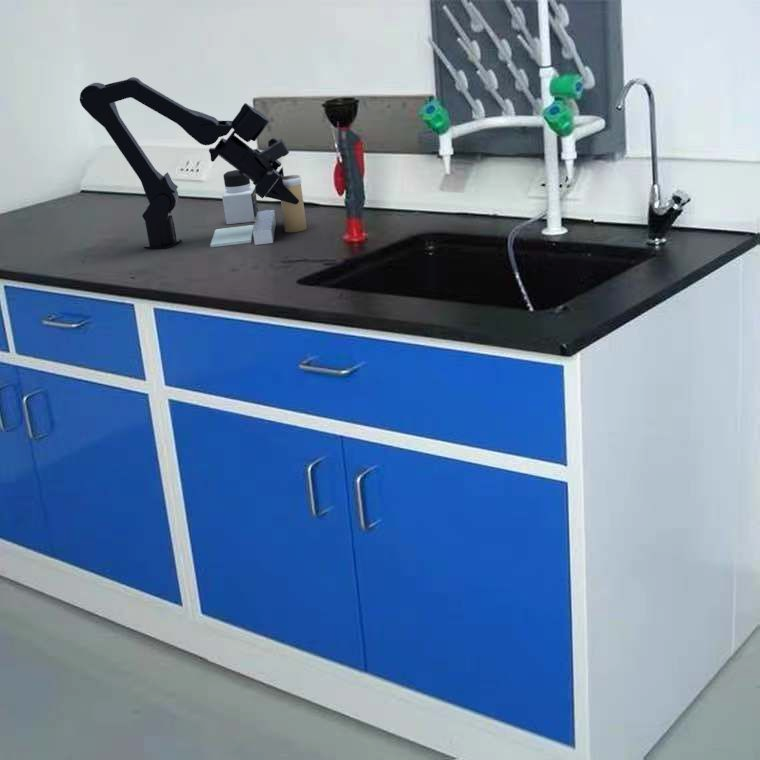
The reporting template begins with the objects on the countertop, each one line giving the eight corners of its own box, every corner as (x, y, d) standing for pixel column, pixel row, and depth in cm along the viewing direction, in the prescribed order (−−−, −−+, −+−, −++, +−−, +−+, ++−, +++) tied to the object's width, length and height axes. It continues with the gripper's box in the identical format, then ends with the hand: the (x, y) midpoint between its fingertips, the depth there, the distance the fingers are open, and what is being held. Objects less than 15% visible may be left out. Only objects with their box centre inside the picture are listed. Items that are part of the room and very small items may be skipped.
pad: (210, 247, 281) (210, 244, 281) (216, 231, 296) (215, 229, 296) (250, 242, 281) (250, 239, 281) (254, 227, 296) (253, 224, 296)
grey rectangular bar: (272, 242, 279) (271, 229, 278) (254, 245, 278) (252, 231, 277) (276, 219, 302) (274, 207, 301) (259, 221, 302) (257, 209, 301)
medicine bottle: (255, 221, 302) (248, 172, 298) (226, 224, 303) (218, 175, 299) (259, 215, 309) (252, 166, 305) (230, 218, 309) (222, 169, 306)
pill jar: (300, 232, 286) (293, 179, 282) (280, 232, 288) (273, 180, 284) (311, 226, 290) (304, 174, 286) (291, 226, 292) (284, 175, 288)
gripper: (262, 135, 272) (320, 179, 276) (265, 123, 290) (319, 165, 294) (231, 175, 275) (289, 219, 279) (236, 161, 293) (290, 203, 296)
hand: (298, 200), depth 287 cm, fingers closed on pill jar, 5 cm apart
